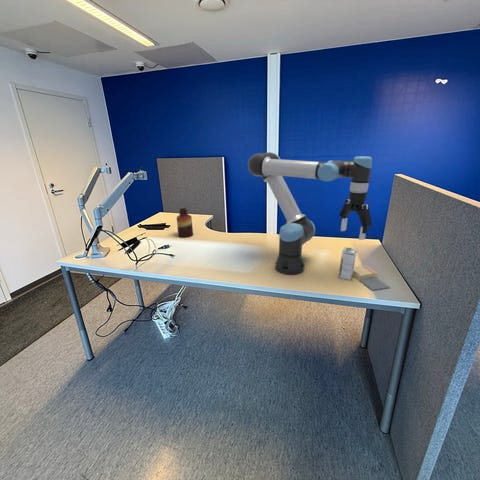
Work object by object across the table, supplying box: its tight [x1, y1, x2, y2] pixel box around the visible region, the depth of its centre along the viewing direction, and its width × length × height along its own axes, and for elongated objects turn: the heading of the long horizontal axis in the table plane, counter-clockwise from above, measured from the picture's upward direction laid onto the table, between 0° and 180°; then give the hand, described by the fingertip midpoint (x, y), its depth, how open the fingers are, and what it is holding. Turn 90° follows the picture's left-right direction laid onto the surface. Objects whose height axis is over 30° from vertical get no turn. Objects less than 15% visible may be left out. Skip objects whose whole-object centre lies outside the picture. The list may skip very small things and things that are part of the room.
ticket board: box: [352, 264, 378, 281], centre depth 128 cm, size 10×9×2 cm
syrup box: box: [338, 247, 358, 281], centre depth 124 cm, size 6×6×14 cm
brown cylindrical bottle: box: [176, 207, 194, 239], centre depth 188 cm, size 11×11×20 cm
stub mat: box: [358, 277, 390, 292], centre depth 119 cm, size 9×9×1 cm
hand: (352, 234), depth 125 cm, fingers open, 13 cm apart
